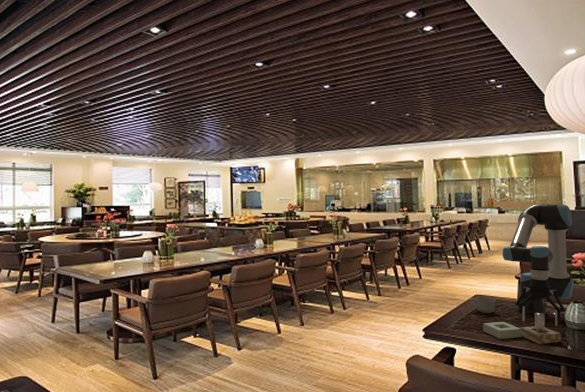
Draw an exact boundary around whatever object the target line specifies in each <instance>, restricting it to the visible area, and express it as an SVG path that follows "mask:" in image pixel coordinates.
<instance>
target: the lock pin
mask: <svg viewBox="0 0 585 392" xmlns="http://www.w3.org/2000/svg"><path fill="white" fill-rule="evenodd" d="M545 321H546V320H545V314H543V313H535V315H534V326H535V331H536V332H539V333H543V332H545V328H546V327H545V326H546V325H545Z"/></svg>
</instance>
